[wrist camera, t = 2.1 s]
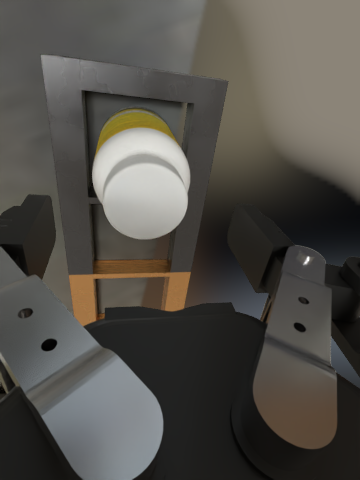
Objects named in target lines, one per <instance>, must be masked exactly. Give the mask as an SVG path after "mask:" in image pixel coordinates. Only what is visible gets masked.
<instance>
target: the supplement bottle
mask: <svg viewBox="0 0 360 480" xmlns="http://www.w3.org/2000/svg"><path fill="white" fill-rule="evenodd" d="M92 181H93V186H94V190H95V192H96V195H97V197H98V199H99V200H100V202H101V203H102V205H103V209H104V213H105V215H106V217H107V219H108V221H109V222H110V224H111V225H112V226H113V227H114V228H115V229H116V230H117V231H119V232H120V233H122V234H124V235H126V236H128V237H131V238H135V239H154V238H158V237H161V236H163V235H165V234H167V233H169V232H171V231H172V230H173V229H175V228H176V227H177V226H178V225H179V223H180V222H181V221H182V219H183V217H184V215H185V213H186V210H187V205H188V195H187V193H188V189H189V185H190V169H189V164H188V161H187V159H186V157H185V155H184V153H183V151H182V149H181V148H180V146H179V144H178V142H177V141H176V139H175V137H174V136H173V134H172V132H171V131H170V129H169V127H168V125H167V124H166V123H165V121H164V120H163V119H162V118H161V117H160V116H159V115H157V114H156V113H155V112H153V111H151V110H149V109H146V108H143V107H127V108H123V109H121V110H119V111H117V112H115V113H114V114H113V115H111V116H110V117H109V118H108V119H107V121H106V122H105V124H104V125H103V127H102V129H101V132H100V136H99V140H98V144H97V149H96V154H95V158H94V161H93V170H92Z"/></svg>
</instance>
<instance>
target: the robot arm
mask: <svg viewBox="0 0 360 480" xmlns="http://www.w3.org/2000/svg"><path fill="white" fill-rule="evenodd" d="M55 239H56V229H55V222H54V214H53V207H52V200H51V197H50V196H49V195H30V194H29V195H28V196H27V197H26V199H25V200H24V202H23V203H22V205H21V206H13V207H11V208H10V209H8V210H6V211H4V212H3V213H2V214H1V216H0V381H1V383H2V385H3V387H4V389H5V391H6V393H7V395H6V396H4V397H3V398H2V399H1V400H0V480H360V388H358V387H357V386H355V385H354V384H352V383H351V382H350V381H348V380H346V379H345V378H344V377H342V376H341V375H340V374H338V373H337V372H336V371H335V369H334V368H333V367H332V366H331V336H332V338H333V339H334V341H335V342H336V344H337V345H338V347H339V348H340V350H341V351H342V352H343V354H344V355H345V357H346V358H347V360H348V361H349V363H350V364H351V365H352V367H353V368H354V370H355V371H356V373H357V374H358V376H359V377H360V317H359V316H360V258H359V257H348V258H347V259H346V261H345V262H344V264H343V266H342V267H341V266H335V265H331V264H326V262H325V259H324V258H323V257H322V256H321V255H320V254H319V253H318V252H316V251H314V250H312V249H310V248H307V247H303V246H295V245H294V244H293V243H292V241H291V240H290V239H289V238H288V237H287V236H286V235H285V234H284V233H282V231H281V230H280V229H279V228H278V227H277V225H276V224H275V223H274V222H273V221H272V220H270V219H269V218H267V217H266V216H264V215H263V214H262V213H261V212H260V211H259V210H258V209H257V208H256V207H255V206H254V205H252V204H237V205H236V206H235V208H234V211H233V215H232V219H231V223H230V226H229V230H228V236H227V241H228V245H229V247H230V248H231V250H232V252H233V254H234V256H235V257H236V259H237V261H238V263H239V264H240V266H241V268H242V269H243V271H244V273H245V274H246V276H247V278H248V280H249V282H250V283H251V285H252V287H253V289H254V290H255V292H256V293H269V295H268V298H267V300H266V303H265V306H264V309H263V312H262V315H261V318H260V320H258V319H257V318H254V317H252V316H249V315H246V314H243V313H239V312H235V309H234V307H233V305H232V303H231V302H229V303H206V304H200V305H196V306H192V307H189V308H185V309H181V310H177V311H165V310H158V309H152V308H145V307H139V306H137V307H114V308H105V317H104V318H103V319H100V320H97V321H94V322H91V323H89V324H87V325H85V326H82V325H81V324H80V323H79V321H78V320H77V319H76V318H75V317H74V316H73V315H72V314H71V313H70V311H69V310H68V309H67V308H66V307H65V306H64V305H63V304H62V303H61V301H60V300H59V299H58V298H57V297H56V296H55V295H54V294H53V293H52V291H51V290H50V289H49V288H48V287H47V286H46V285H45V284H44V283H43V281H42V278H43V275H44V273H45V270H46V267H47V264H48V261H49V258H50V256H51V253H52V250H53V247H54V244H55Z"/></svg>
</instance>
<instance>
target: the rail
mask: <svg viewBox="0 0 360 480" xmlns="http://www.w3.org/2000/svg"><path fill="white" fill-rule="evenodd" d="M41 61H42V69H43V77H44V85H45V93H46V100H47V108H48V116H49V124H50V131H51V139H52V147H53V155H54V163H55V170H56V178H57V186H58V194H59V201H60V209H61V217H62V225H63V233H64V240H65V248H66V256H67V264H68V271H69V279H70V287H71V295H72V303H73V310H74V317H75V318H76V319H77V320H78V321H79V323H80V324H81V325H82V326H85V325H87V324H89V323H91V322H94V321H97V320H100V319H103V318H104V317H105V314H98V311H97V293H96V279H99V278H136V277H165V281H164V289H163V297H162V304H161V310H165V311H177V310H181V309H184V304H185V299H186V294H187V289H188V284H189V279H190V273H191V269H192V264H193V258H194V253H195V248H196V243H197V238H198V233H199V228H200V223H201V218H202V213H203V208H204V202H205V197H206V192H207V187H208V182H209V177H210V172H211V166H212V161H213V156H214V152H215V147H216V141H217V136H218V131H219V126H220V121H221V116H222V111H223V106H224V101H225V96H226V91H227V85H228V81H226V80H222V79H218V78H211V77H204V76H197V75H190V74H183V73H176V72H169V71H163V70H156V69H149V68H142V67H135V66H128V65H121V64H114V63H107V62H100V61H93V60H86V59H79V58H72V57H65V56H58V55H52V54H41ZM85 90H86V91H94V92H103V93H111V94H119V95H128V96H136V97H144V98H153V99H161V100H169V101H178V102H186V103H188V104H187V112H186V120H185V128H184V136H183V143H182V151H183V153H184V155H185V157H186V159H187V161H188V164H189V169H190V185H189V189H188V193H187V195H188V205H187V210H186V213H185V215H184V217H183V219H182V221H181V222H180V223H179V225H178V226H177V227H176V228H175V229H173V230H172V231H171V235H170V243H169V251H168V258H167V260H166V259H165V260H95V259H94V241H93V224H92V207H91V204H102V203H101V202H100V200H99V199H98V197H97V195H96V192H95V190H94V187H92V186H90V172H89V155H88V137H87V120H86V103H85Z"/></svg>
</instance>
